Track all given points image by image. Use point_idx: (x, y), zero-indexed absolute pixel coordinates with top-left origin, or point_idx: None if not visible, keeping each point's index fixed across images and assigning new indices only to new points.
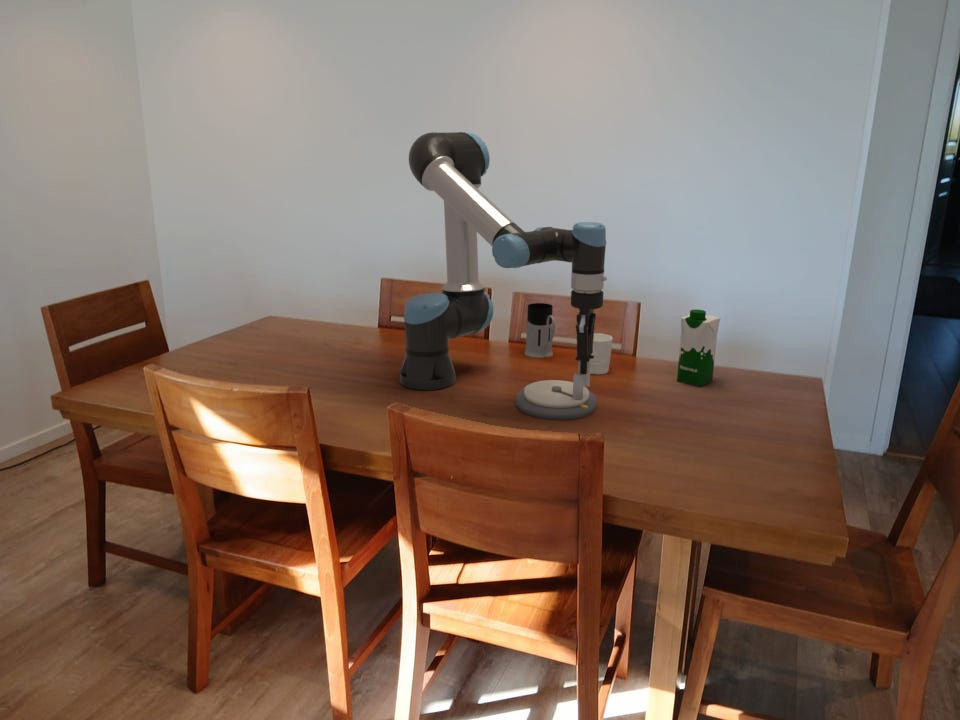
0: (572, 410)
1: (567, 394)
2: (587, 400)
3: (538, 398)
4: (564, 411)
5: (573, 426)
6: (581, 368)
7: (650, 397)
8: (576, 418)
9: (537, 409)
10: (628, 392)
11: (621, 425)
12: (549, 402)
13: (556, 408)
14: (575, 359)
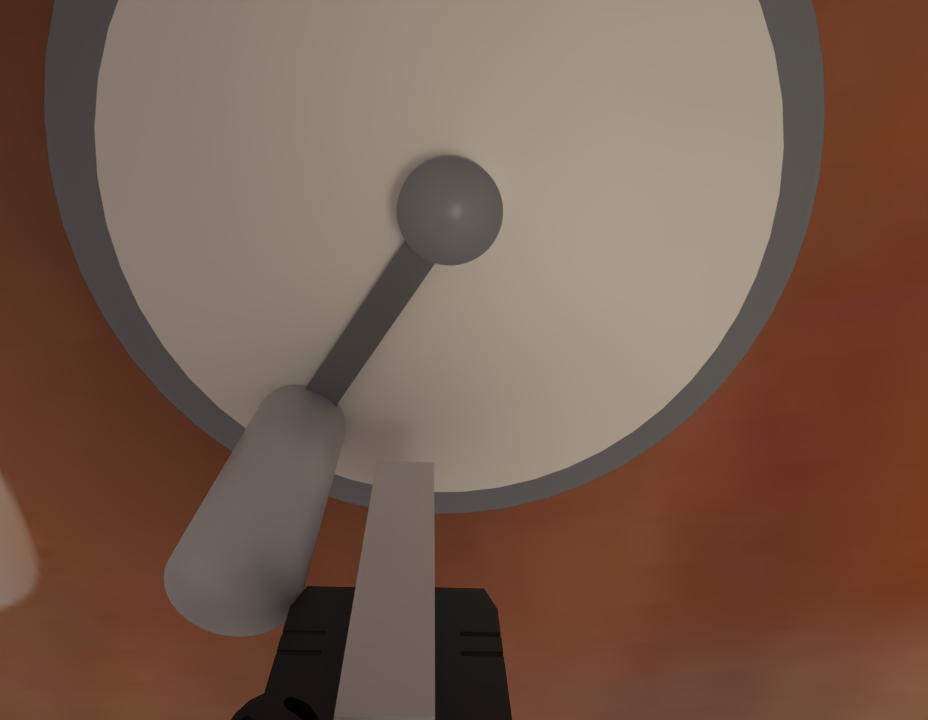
0: (172, 379)
1: (348, 334)
2: None
3: (138, 45)
4: (116, 323)
5: (49, 383)
6: (277, 664)
7: (705, 715)
8: None
9: (45, 66)
10: (782, 615)
11: (209, 631)
12: (106, 186)
13: None
14: (236, 714)
